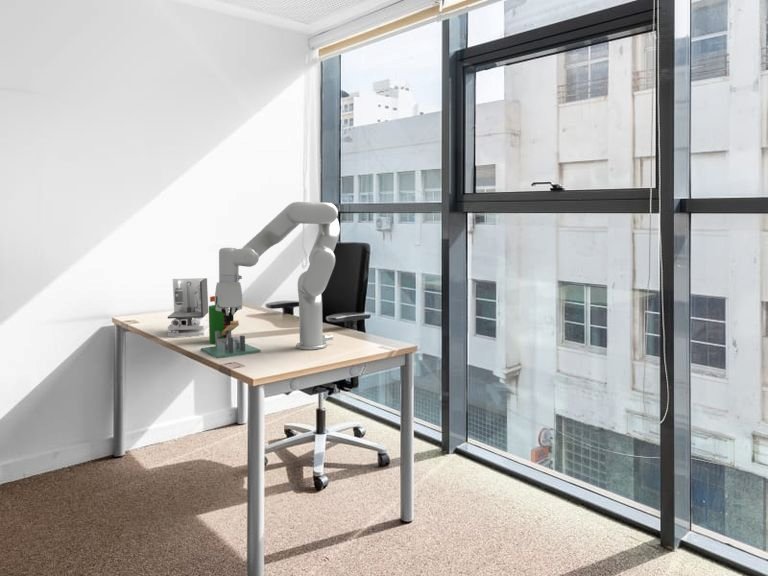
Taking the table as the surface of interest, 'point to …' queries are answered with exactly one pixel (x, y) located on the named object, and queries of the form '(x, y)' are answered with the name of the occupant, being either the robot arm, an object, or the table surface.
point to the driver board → (231, 349)
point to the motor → (216, 322)
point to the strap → (230, 328)
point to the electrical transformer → (189, 307)
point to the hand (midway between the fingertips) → (229, 324)
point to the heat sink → (226, 342)
